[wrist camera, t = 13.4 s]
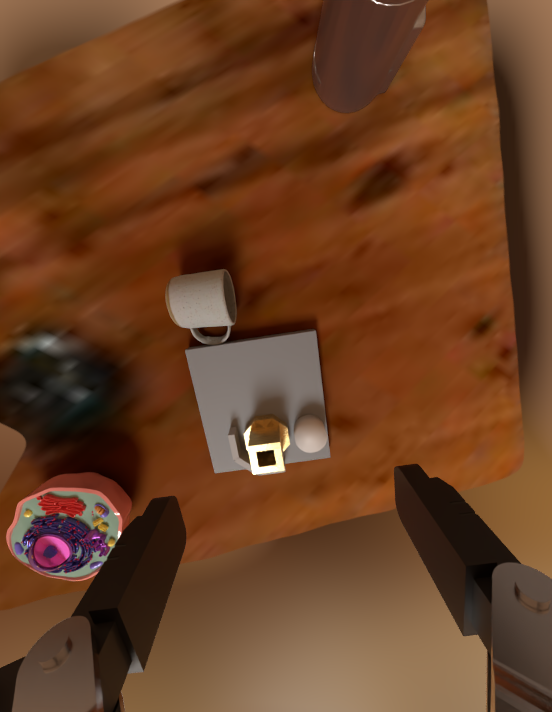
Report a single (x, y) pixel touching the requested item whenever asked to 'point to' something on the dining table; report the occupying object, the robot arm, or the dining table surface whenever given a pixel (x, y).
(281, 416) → the carrier
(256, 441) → the gold hollow block
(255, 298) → the dining table surface
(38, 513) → the cell model
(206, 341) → the ceramic mug
